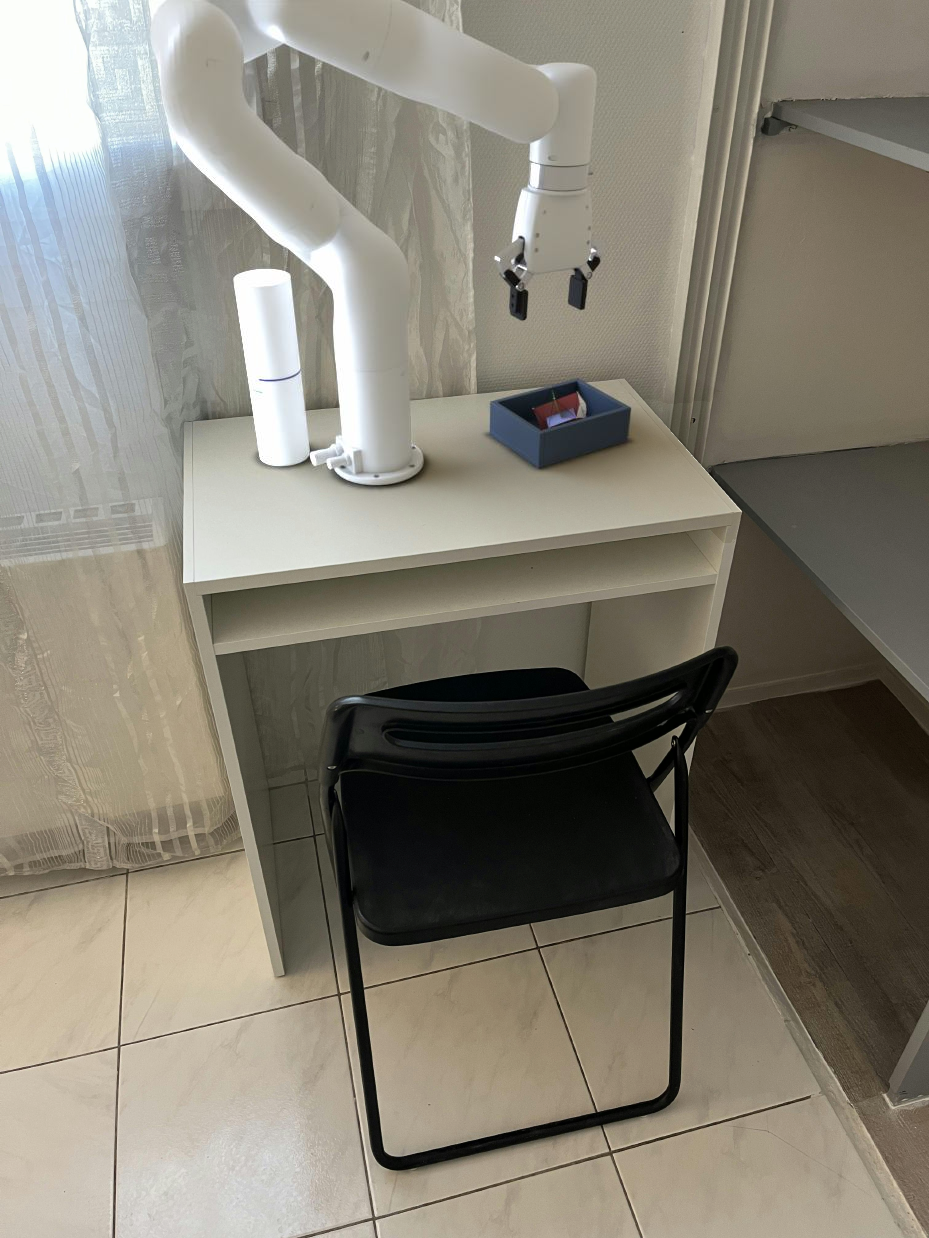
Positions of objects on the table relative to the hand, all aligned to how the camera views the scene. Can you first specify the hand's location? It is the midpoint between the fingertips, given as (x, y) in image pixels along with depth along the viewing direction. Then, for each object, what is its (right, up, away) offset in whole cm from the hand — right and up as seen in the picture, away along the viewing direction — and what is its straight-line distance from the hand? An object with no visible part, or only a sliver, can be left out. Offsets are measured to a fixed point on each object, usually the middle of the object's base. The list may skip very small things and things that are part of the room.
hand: (547, 312), depth 128 cm
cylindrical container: (-37, -19, +6) cm, 42 cm away
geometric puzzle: (+2, -15, +10) cm, 18 cm away
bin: (+2, -15, +10) cm, 19 cm away
